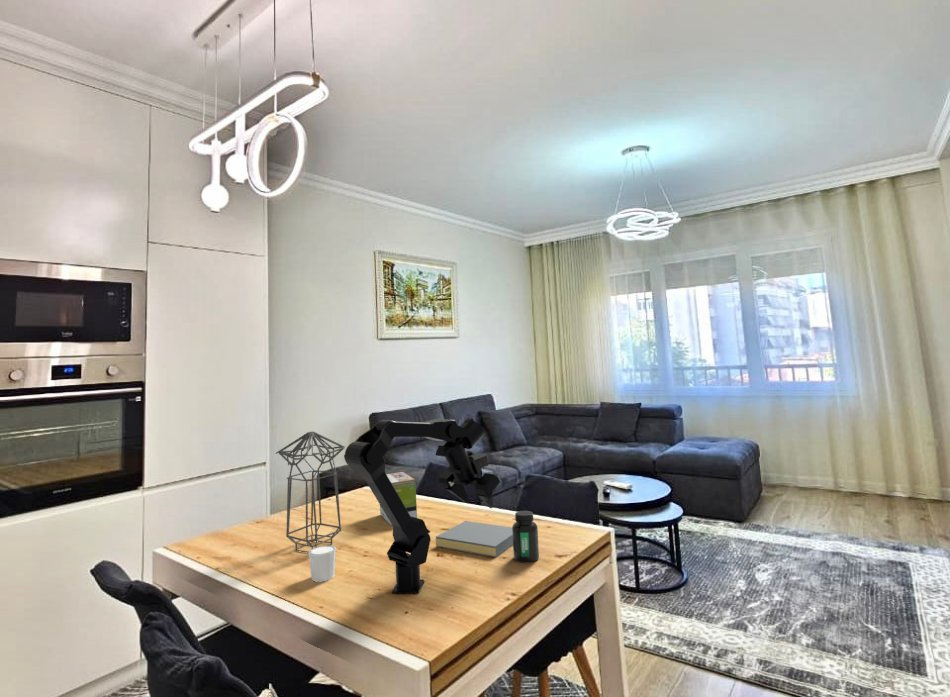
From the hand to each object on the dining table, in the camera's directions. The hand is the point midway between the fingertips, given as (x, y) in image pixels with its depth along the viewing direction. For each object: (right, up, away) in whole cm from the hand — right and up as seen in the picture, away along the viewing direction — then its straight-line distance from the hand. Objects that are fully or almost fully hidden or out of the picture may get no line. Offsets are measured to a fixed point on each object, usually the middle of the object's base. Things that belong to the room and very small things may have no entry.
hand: (479, 504), depth 137 cm
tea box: (-29, -17, +38) cm, 51 cm away
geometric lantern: (-50, -17, +11) cm, 54 cm away
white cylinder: (-40, -15, -11) cm, 44 cm away
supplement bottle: (+13, -13, -5) cm, 19 cm away
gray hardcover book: (0, -14, +9) cm, 17 cm away
